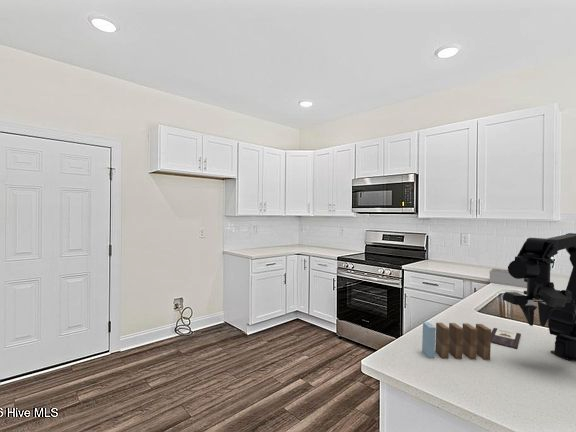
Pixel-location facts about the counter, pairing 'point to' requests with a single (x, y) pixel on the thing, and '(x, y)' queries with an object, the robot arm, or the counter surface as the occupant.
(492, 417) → the counter surface
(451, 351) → the domino
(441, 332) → the domino
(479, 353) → the domino
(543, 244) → the robot arm
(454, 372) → the counter surface
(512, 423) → the counter surface
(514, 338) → the chocolate bar
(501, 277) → the gray rectangular block
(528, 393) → the counter surface
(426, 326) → the domino
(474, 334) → the domino
